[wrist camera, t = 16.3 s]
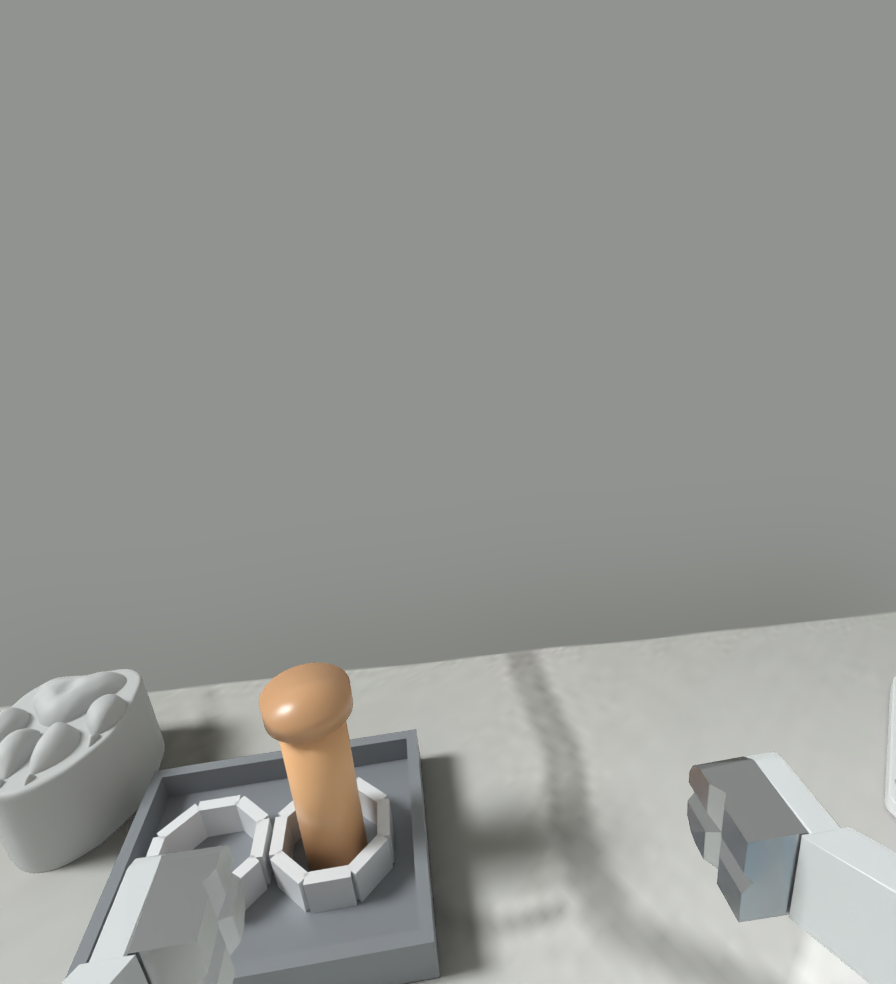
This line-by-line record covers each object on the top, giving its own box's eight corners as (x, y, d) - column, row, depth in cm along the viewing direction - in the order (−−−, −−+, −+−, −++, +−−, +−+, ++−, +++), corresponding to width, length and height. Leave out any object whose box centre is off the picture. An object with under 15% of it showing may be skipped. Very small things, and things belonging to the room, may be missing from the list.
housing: (440, 977, 34) (433, 935, 33) (69, 1046, 33) (47, 1005, 31) (420, 758, 49) (415, 724, 48) (165, 800, 48) (152, 765, 46)
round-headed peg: (326, 809, 44) (295, 656, 39) (390, 831, 42) (366, 671, 37) (282, 875, 39) (239, 711, 34) (351, 902, 37) (317, 733, 32)
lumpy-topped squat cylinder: (177, 728, 55) (150, 648, 52) (119, 861, 43) (79, 767, 40) (59, 745, 55) (24, 666, 51) (-34, 885, 42) (-86, 791, 39)
